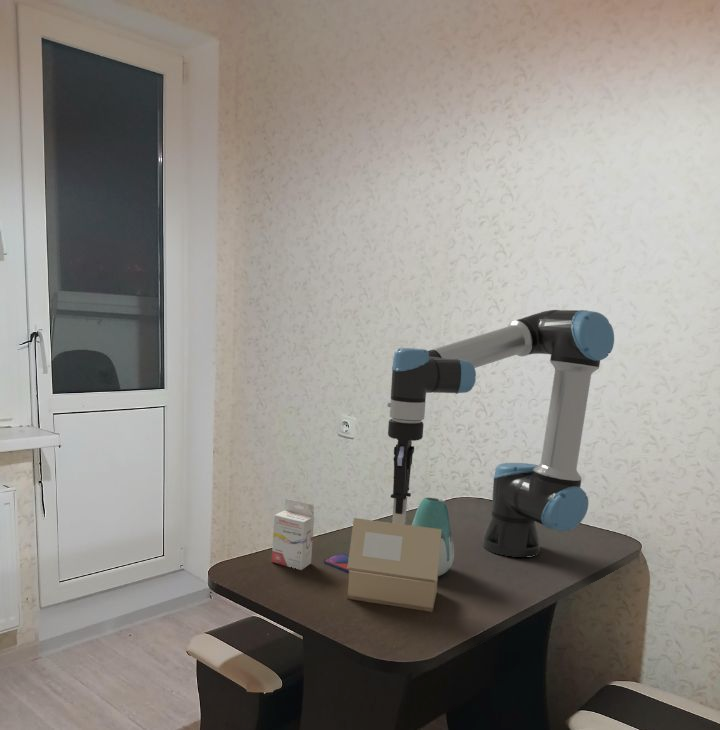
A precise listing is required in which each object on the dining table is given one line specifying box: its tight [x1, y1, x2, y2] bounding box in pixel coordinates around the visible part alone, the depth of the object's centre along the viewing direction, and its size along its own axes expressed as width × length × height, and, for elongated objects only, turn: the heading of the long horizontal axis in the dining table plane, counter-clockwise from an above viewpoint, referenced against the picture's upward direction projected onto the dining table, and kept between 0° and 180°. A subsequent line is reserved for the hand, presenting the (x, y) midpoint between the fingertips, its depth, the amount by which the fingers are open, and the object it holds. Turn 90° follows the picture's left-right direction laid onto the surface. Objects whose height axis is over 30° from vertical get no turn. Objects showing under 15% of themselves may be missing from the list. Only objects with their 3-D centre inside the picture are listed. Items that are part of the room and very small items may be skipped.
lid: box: [347, 517, 442, 583], centre depth 133 cm, size 19×11×1 cm
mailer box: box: [347, 566, 439, 613], centre depth 137 cm, size 18×10×6 cm, turn 78°
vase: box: [411, 497, 455, 577], centre depth 151 cm, size 12×12×18 cm
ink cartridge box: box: [271, 498, 315, 571], centre depth 150 cm, size 9×5×15 cm, turn 65°
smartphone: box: [323, 553, 349, 574], centre depth 151 cm, size 7×15×1 cm, turn 51°
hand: (398, 526), depth 138 cm, fingers closed
